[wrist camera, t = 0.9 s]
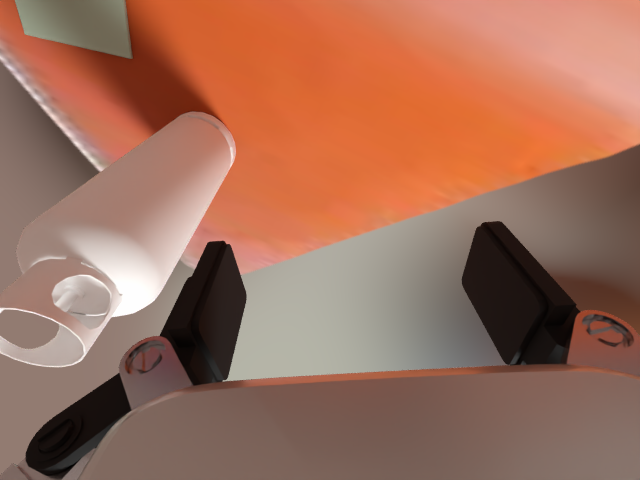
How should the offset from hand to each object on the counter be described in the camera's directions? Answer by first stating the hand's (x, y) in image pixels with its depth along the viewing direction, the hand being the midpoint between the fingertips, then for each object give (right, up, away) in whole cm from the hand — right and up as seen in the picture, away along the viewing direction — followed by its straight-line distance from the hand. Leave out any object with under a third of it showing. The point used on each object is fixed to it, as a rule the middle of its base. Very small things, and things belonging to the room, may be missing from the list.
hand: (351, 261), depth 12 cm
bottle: (-16, +13, +26) cm, 33 cm away
